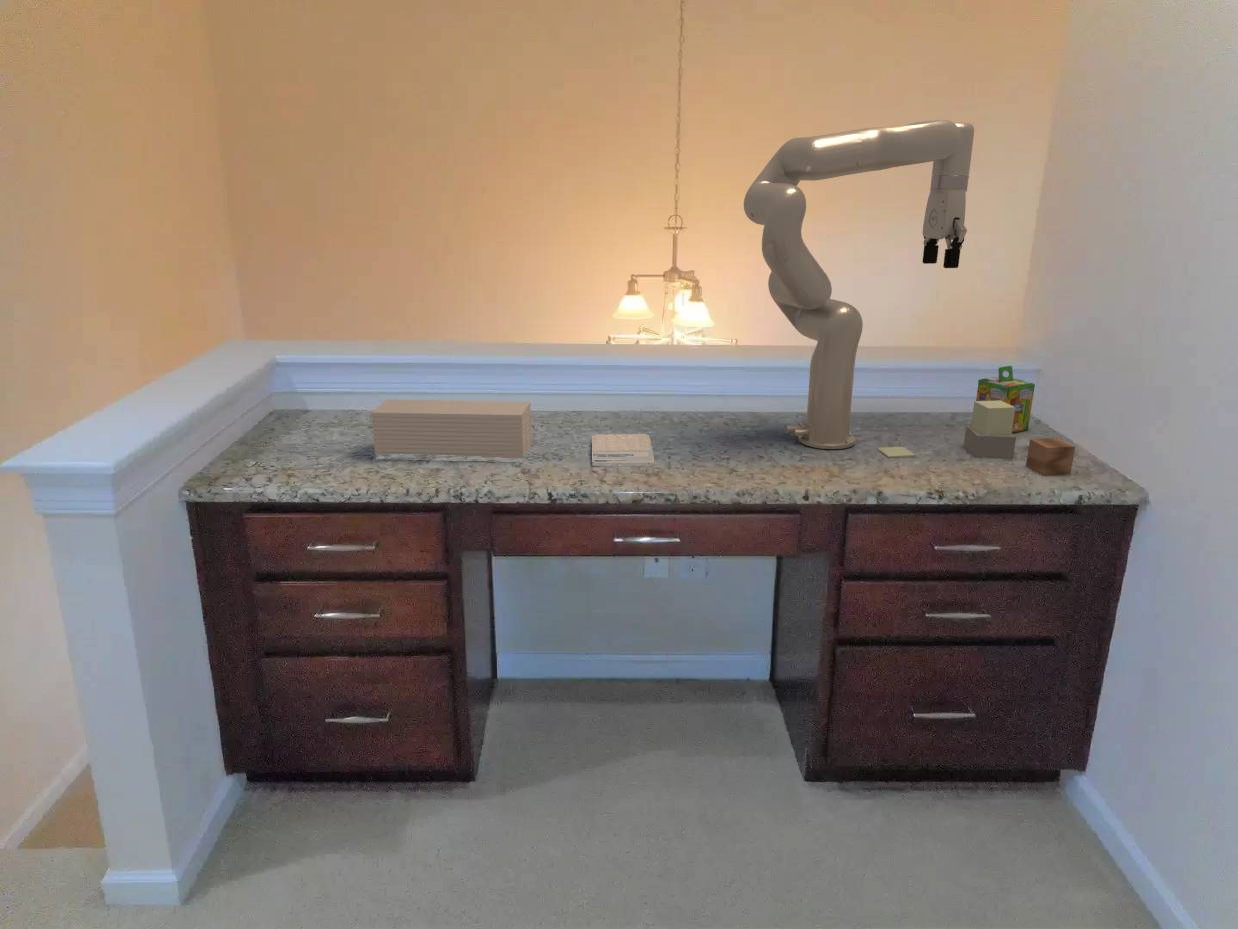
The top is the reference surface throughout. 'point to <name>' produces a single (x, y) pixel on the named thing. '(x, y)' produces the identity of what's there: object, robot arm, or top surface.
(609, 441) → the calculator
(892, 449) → the tile
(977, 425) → the sage block
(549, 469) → the top surface
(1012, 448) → the base block
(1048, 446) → the walnut block
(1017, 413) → the chalk box
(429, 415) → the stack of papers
